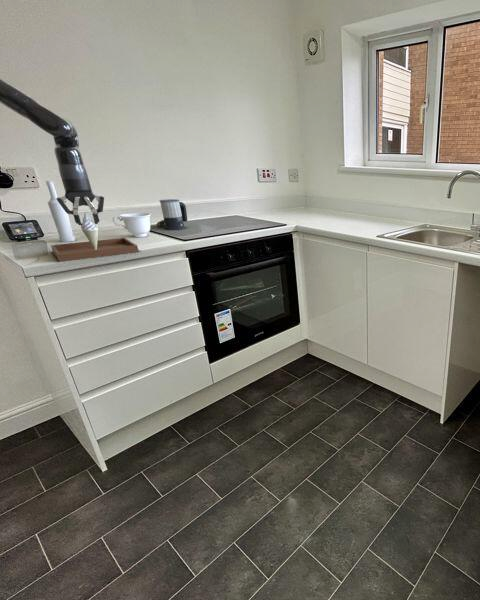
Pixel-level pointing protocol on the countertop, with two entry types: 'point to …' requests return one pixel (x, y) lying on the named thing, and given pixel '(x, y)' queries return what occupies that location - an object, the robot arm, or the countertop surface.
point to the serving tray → (87, 251)
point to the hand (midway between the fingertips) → (88, 224)
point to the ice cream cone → (90, 230)
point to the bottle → (59, 216)
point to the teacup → (135, 223)
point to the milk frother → (173, 214)
